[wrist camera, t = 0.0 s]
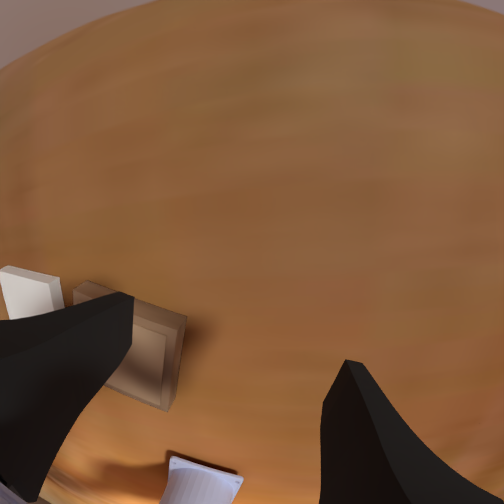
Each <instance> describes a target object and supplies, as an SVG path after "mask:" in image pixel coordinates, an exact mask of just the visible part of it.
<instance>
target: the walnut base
mask: <svg viewBox="0 0 504 504" xmlns="http://www.w3.org/2000/svg"><path fill="white" fill-rule="evenodd" d="M115 292H116V291H114V290H111V289H108V288H106V287H103V286H101V285H98V284H96V283H93V282H91V281H88V280H86V281H85V282H83V283H82V284H80V285H79V286H78V287H76V288H75V289H73V305H76V304H79V303H83V302H86V301H89V300H92V299H95V298H98V297H101V296H104V295H108V294H111V293H115ZM186 320H187V316H184V315H181V314H178V313H175V312H172V311H169V310H166V309H163V308H160V307H157V306H154V305H152V304H149V303H146V302H143V301H140V300H138V299H135V298H134V314H133V335H132V345H131V347H130V349H129V351H128V352H127V354H126V356H125V357H124V359H123V360H122V362H121V364H120V365H119V367H118V368H117V369H116V370H115V372H114V373H113V374H112V375H111V376H110V378H109V379H108V380H107V381H106V382H105V384H104V386H106V387H108V388H111V389H113V390H115V391H117V392H119V393H122V394H124V395H126V396H128V397H131V398H133V399H135V400H138V401H140V402H143V403H145V404H148V405H150V406H153V407H155V408H158V409H160V410H163V411H166V412H168V411H169V409H170V407H171V405H172V403H173V401H174V399H175V397H176V389H177V381H178V374H179V367H180V360H181V353H182V346H183V339H184V332H185V326H186Z"/></svg>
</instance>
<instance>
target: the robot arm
mask: <svg viewBox="0 0 504 504" xmlns="http://www.w3.org/2000/svg"><path fill="white" fill-rule="evenodd" d="M134 298H135V297H133V296H130V295H127V294H125V293H122V292H115V293H111V294H108V295H104V296H101V297H98V298H95V299H92V300H89V301H86V302H83V303H79V304H76V305H73V306H70V307H66V308H63V309H59V310H55V311H52V312H48V313H44V314H40V315H35V316H30V317H24V318H18V319H11V320H0V482H1V483H0V504H28V503H30V502H36V501H37V498H38V496H39V493H40V490H41V488H42V485H43V483H44V480H45V478H46V476H47V473H48V471H49V469H50V467H51V465H52V463H53V461H54V459H55V457H56V455H57V453H58V451H59V449H60V447H61V445H62V443H63V442H64V440H65V438H66V436H67V434H68V433H69V431H70V429H71V428H72V426H73V424H74V423H75V421H76V420H77V418H78V416H79V415H80V413H81V412H82V411H83V409H84V408H85V407H86V405H87V404H88V403H89V402H90V401H91V399H92V398H93V397H94V396H95V395H96V393H97V392H98V391H99V390H100V388H101V387H102V386H103V385H104V384H105V382H106V381H107V380H108V379H109V378H110V376H111V375H112V374H113V373H114V372H115V370H116V369H117V368H118V367H119V365H120V364H121V362H122V360H123V359H124V357H125V356H126V354H127V352H128V351H129V349H130V347H131V345H132V335H133V314H134ZM320 442H321V491H320V500H319V504H504V502H503V500H502V499H500V498H498V497H496V496H494V495H492V494H490V493H489V492H487V491H485V490H483V489H481V488H479V487H478V486H476V485H474V484H473V483H471V482H470V481H468V480H467V479H465V478H464V477H462V476H461V475H460V474H458V473H457V472H456V471H454V470H453V469H452V468H450V467H449V466H448V465H447V464H446V463H444V462H443V461H442V460H441V459H440V458H439V457H437V456H436V455H435V454H434V453H433V452H432V451H431V450H430V449H429V448H428V447H427V446H426V445H425V444H424V443H423V442H422V441H421V440H420V439H419V438H418V437H417V435H416V434H415V433H414V432H413V431H412V430H411V429H410V427H409V426H408V425H407V424H406V422H405V421H404V420H403V419H402V417H401V416H400V415H399V414H398V412H397V411H396V410H395V408H394V407H393V406H392V404H391V403H390V401H389V400H388V399H387V397H386V396H385V394H384V393H383V392H382V390H381V389H380V387H379V386H378V384H377V383H376V381H375V380H374V378H373V377H372V376H371V374H370V373H369V371H368V370H367V369H366V367H365V366H364V365H363V363H360V362H355V361H351V360H346V359H345V361H344V363H343V365H342V367H341V369H340V371H339V373H338V375H337V377H336V379H335V381H334V383H333V385H332V386H331V388H330V390H329V392H328V394H327V396H326V398H325V399H324V401H323V407H322V415H321V425H320ZM243 480H244V478H243V477H242V476H238V475H235V474H231V473H227V472H223V471H220V470H216V469H213V468H209V467H206V466H203V465H200V464H197V463H193V462H190V461H187V460H184V459H182V458H179V457H176V456H171V458H170V463H169V473H168V484H167V486H166V489H165V491H164V493H163V495H162V498H161V500H160V502H159V504H231V503H232V501H233V499H234V497H235V495H236V494H237V492H238V490H239V488H240V486H241V484H242V482H243ZM5 486H6V487H5ZM10 490H11V491H10ZM14 493H15V494H14ZM26 502H28V503H26Z"/></svg>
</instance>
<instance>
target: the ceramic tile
mask: <svg viewBox="0 0 504 504" xmlns="http://www.w3.org/2000/svg"><path fill="white" fill-rule="evenodd" d="M0 282H1V286H2V291H3V295H4V299H5V303H6V306H7V310H8V314H9V317H10V320H11V319H18V318H24V317H30V316H35V315H40V314H44V313H48V312H52V311H55V310H59V309H63V308H65V306H64V301H63V296H62V291H61V285H60V279H59V277H55V276H51V275H47V274H42V273H38V272H34V271H29V270H25V269H21V268H17V267H13V266H9V265H8V266H6V267H4V268H2V269H0Z"/></svg>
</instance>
